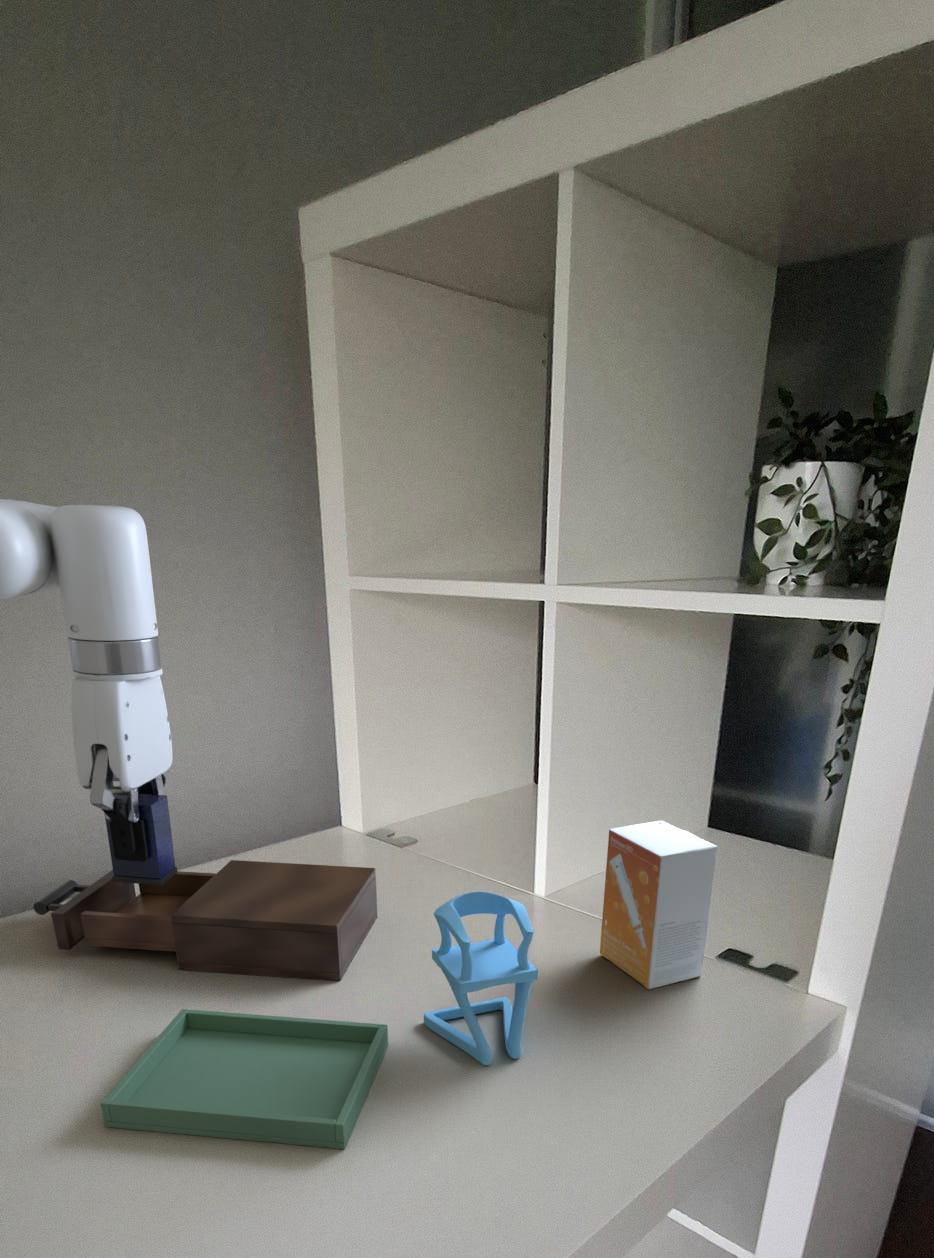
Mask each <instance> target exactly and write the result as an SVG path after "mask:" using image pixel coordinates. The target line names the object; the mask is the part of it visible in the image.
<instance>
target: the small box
mask: <svg viewBox="0 0 934 1258" xmlns="http://www.w3.org/2000/svg"><path fill="white" fill-rule="evenodd" d="M607 841H608V842H607V853H606V854H607V857H606V866H605V880H604V890H603V891H604V892H603V893H604V894H603V906H602V917H601V918H602V919H601V930H600V931H601V932H600V942H599V955H600V956H602V957H603V958H605V959H607V960H608V961H610V962H611V964H614V965H615V966H617V968H619V969H620V970H622V971H623V972H625V973H626V974H628V975H629V977H631V978H633V979H634V980H636V981H637V982H638V983H640V984H641V985H642V986H643V987H644V988H646V989H647V990H652V989H656V988H660V987H663V986H668V985H672V984H675V983H679V982H683V981H687V980H691V979H694V978H698V977H700V976H702V974H703V966H704V965H703V964H704V957H705V956H704V955H705V950H706V949H705V948H706V940H707V933H708V926H709V925H708V924H709V917H710V909H711V901H712V899H711V898H712V894H713V884H714V877H715V876H714V875H715V867H716V859H717V853H718V845H716V844H714V843H712V842H709V841H708V840H706V839H703V838H701V837H699V836H697V835H696V834H693V832H691V831H688V830H684V829H681V828H679V827H677V826H675V825H673V824H671V823H668V822H667V821H665V820H656V821H649V822H643V823H636V824H631V825H630V824H629V825H623V826H620V827H619V826H618V827H614V828H610V829H608V840H607Z"/></svg>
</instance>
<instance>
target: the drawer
mask: <svg viewBox="0 0 934 1258" xmlns="http://www.w3.org/2000/svg"><path fill="white" fill-rule="evenodd" d="M177 871H178V873H176V874H175V875H174V876H173V877H171V878H170V879H169V880H168V881H167V882H165V883H164V884H163V885H162V886H161V885H149V884H138V888H139V894H138V895H137V893H136V887H135V883H124V882H113V879H112V876H113V875H114V874H113V869H111V870H110V871H108V872H107V873H106V874H104V875H103V876H101V877H100V878H99V879H98V880H96V881H95V882H93V883H91V884H90V885H88V884H87V885H86V884H79V883H78V882H77V881H75V880H74V879H70V880H67V881H65V882H64V883H63V884H61V885H60V886H58V887H57V888H55V889H54V890H52V891H51V892H49V893H48V894H46V895H45V896H43V897H42V898H40V899H39V900H37V901H36V902H35V903H34V904H33V907H32V908H33V910H34V912H35V913H36V914H37V915H39V916H44V915H46V914H47V913H50V912H51V913H50V916H51V921H52V926H53V930H54V935H55V941H56V945H57V949H58V950H59V951H71V950H72V949H74V948H75V947H76V946H77V945H79V944H80V943H81V942H82V941H85V945H86V946H89V947H103V948H115V949H116V948H118V949H131V950H133V949H134V950H148V951H161V952H162V951H163V952H175V953H176V949H175V942H174V935H173V929H172V921H171V915H172V914H173V913H174V912H175V911H176V910H177V909H178V908H179V907H180V906H182V905H183V904H184V903H185V902H186V901H187V900H188V899H189V898H190V897H191V896H193V895H194V894H195V893H196V892H197V891H198V890H199V889H200V888H201V887H202V886H203V885H205V884H206V883H207V882H208V881H209V880H210V879H211V878H212V877H213V876H214V875H216V874H217V872H216V873H215V872H198V871H197V872H196V871H181V870H180V871H179V870H177ZM76 893H78V894H76ZM74 894H76V895H75V896H74V897H72V896H73V895H74ZM70 897H72V898H71V899H69V900H68V898H70ZM66 900H68V901H67V902H65V903H64V904H63V902H64V901H66Z"/></svg>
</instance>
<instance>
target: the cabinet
mask: <svg viewBox="0 0 934 1258" xmlns="http://www.w3.org/2000/svg"><path fill="white" fill-rule="evenodd" d="M377 893H378V892H377V873H376V868H375V867H363V866H362V867H361V866H360V867H359V866H347V865H326V864H310V863H309V864H308V863H291V862H289V863H288V862H273V861H253V860H238V859H237V860H236V859H231V860H230V861H228V862H227V863H226V864H225V865H224V866H223V867H222V868H221V869H220V870H218V871H217V872H216V875H214V876H213V877H212V878H211V879H210V880H209V881H208V882H207V883H206V884H205V885H203V886H202V887H201V888H200V889H199V890H198V891H197V892H196V893H195V894H194V895H193V896H191V897H190V898H189V899H188V900H187V901H186V902H185V903H184V904H183V905H182V906H180V907H179V908H178V909H177V910H176V911H175V912H174V913H173V914H172V915H171V921H172V929H173V935H174V942H175V949H176V952H175V954H176V961H177V968H178V970H179V971H193V972H194V971H195V972H206V973H208V972H209V973H220V974H221V973H222V974H236V975H251V976H263V977H264V976H265V977H275V978H276V977H277V978H278V977H279V978H292V979H306V980H321V981H333V982H334V981H335V982H341V981H342V979H343V977H344V975H345V974H346V972H347V970H348V969H349V967H350V965H351V963H352V962H353V960H354V958H355V957H356V955H357V953H358V951H359V950H360V948H361V946H362V944H363V943H364V940H365V939H366V938H367V936H368V934H369V932H370V931H371V929H372V927H373V926H374V924H375V922H376V920H377V919H378V897H377Z"/></svg>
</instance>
